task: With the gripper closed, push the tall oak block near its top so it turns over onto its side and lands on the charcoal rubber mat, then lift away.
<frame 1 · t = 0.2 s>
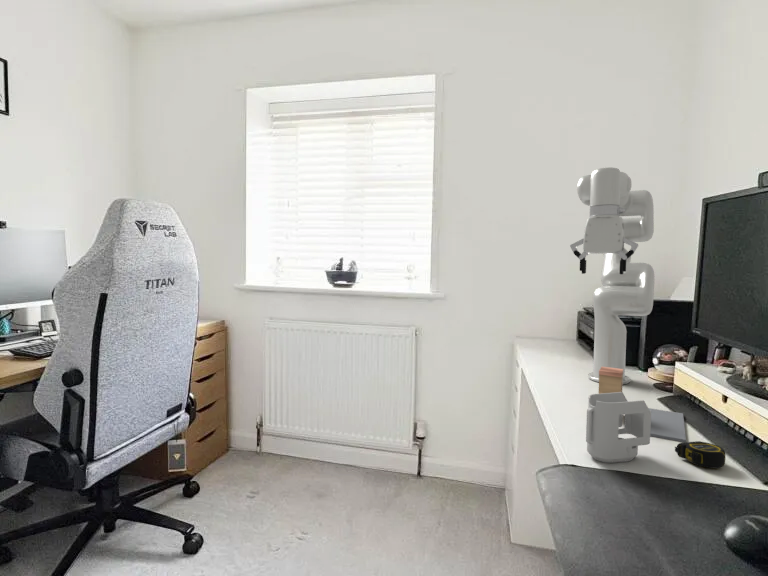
hand: (602, 273, 125), 36 cm above the table, fingers open, 9 cm apart
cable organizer: (617, 457, 91), on the table
oak block: (609, 415, 115), on the table
rubber mat: (654, 423, 109), on the table
tape measure: (698, 463, 88), on the table
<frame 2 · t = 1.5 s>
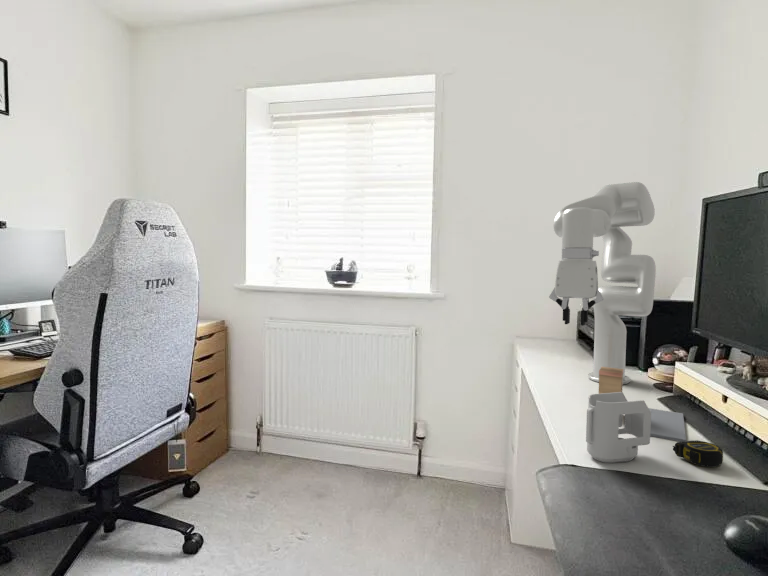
hand: (574, 323, 118), 23 cm above the table, fingers open, 3 cm apart
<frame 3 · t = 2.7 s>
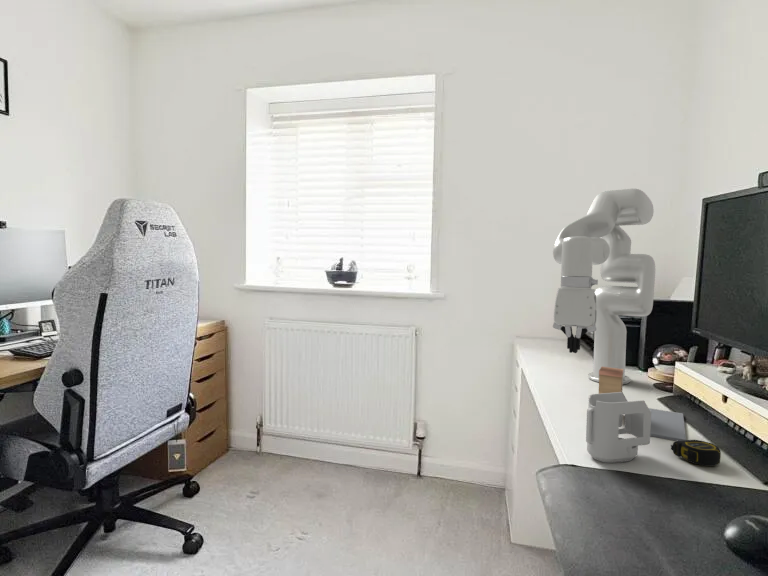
hand: (573, 351, 118), 16 cm above the table, fingers closed
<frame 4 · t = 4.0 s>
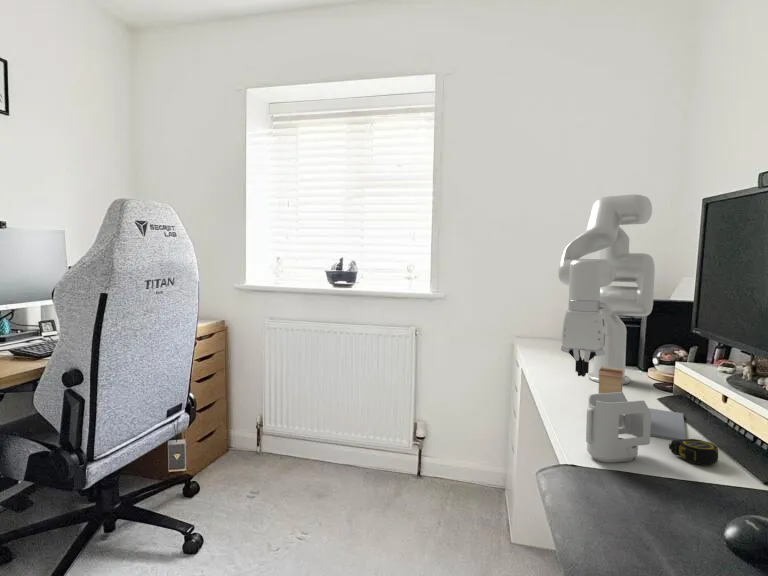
hand: (581, 375, 118), 10 cm above the table, fingers closed
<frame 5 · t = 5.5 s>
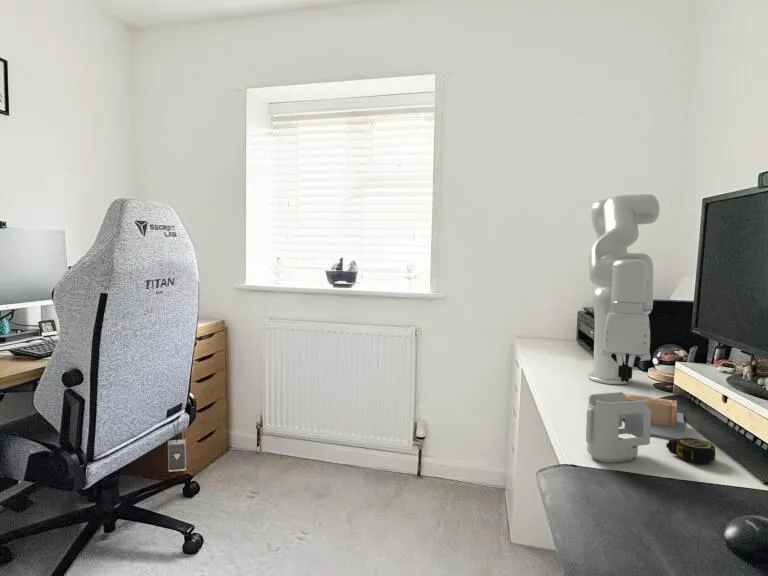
hand: (625, 380, 112), 10 cm above the table, fingers closed
oak block: (620, 405, 113), point 3 cm above the table, tilted 90°, touching rubber mat
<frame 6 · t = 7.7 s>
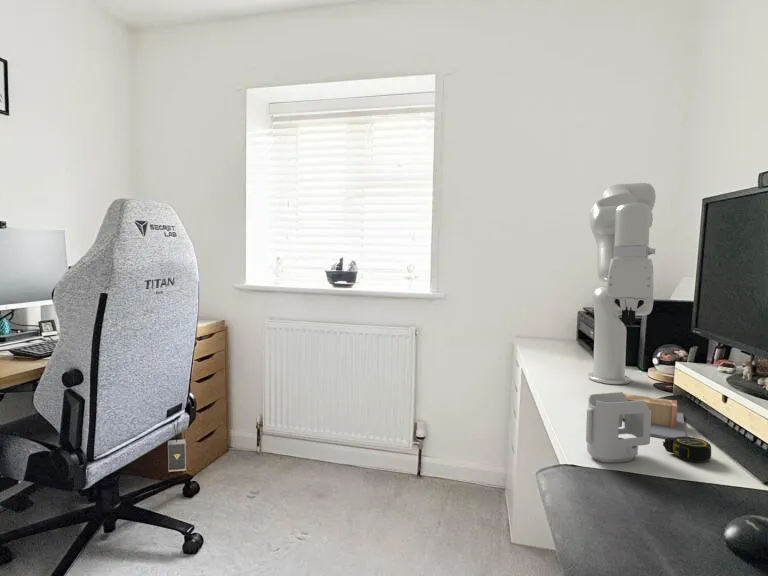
hand: (628, 325, 113), 24 cm above the table, fingers closed
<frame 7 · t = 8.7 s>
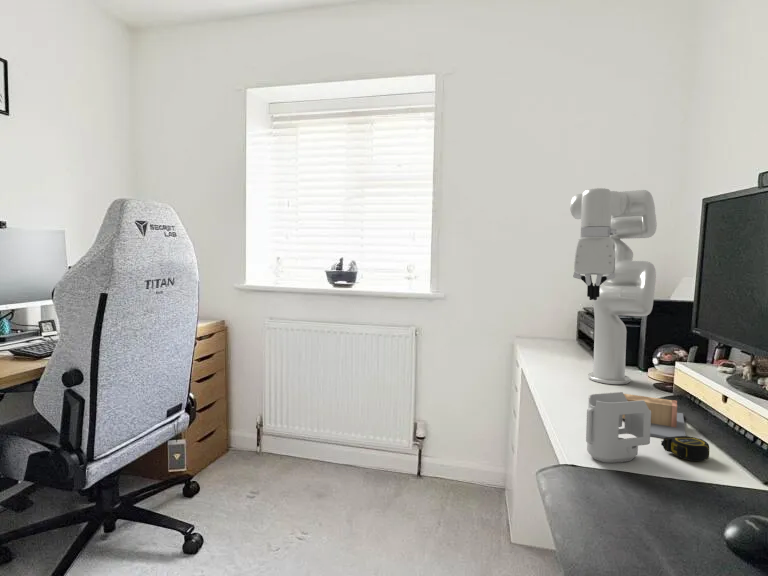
hand: (593, 299, 124), 29 cm above the table, fingers closed
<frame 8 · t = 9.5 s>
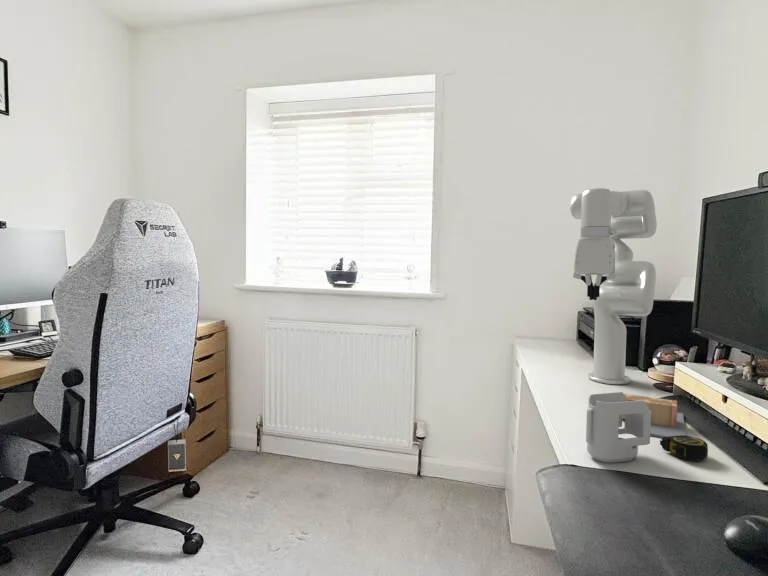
hand: (593, 299, 124), 29 cm above the table, fingers closed
at the end: oak block tilted 90°; oak block touching rubber mat; oak block inside the target area (0.6 cm from its centre), point 3.1 cm above the table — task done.
